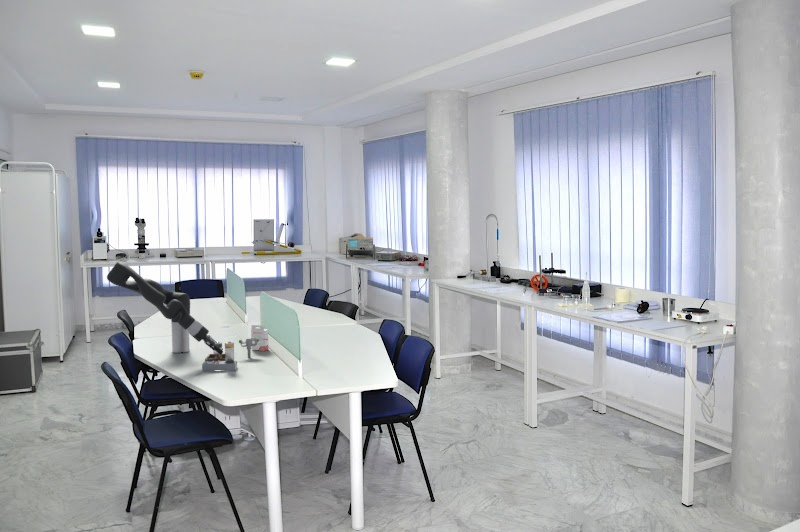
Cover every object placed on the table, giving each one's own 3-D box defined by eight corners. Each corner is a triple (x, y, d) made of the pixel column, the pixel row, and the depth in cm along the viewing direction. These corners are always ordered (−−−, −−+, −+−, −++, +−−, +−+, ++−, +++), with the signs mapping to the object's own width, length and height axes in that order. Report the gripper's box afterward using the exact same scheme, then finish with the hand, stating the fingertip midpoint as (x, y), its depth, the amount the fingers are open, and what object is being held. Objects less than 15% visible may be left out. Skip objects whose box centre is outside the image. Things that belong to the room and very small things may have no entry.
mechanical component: (239, 357, 346) (238, 339, 345) (258, 355, 350) (258, 337, 349) (239, 358, 343) (239, 340, 342) (259, 357, 347) (258, 339, 346)
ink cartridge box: (268, 349, 365) (268, 324, 364) (265, 351, 360) (264, 325, 359) (255, 348, 367) (254, 323, 366) (251, 350, 362) (250, 325, 361)
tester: (204, 368, 323) (204, 360, 323) (236, 367, 325) (236, 359, 325) (202, 371, 317) (202, 363, 317) (235, 370, 319) (235, 362, 319)
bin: (209, 360, 339) (209, 354, 339) (231, 359, 340) (231, 353, 340) (205, 365, 328) (204, 359, 328) (227, 365, 329) (227, 358, 329)
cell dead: (214, 360, 336) (213, 341, 335) (223, 360, 337) (222, 340, 336) (212, 362, 332) (212, 342, 331) (221, 362, 332) (221, 342, 331)
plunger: (207, 368, 322) (207, 358, 322) (215, 368, 323) (214, 357, 322) (206, 370, 318) (205, 359, 318) (213, 370, 319) (213, 359, 318)
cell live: (225, 361, 323) (225, 340, 322) (235, 361, 324) (234, 340, 323) (224, 363, 319) (224, 342, 318) (233, 363, 319) (233, 342, 318)
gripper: (192, 333, 336) (216, 354, 340) (191, 338, 322) (216, 360, 327) (202, 322, 337) (226, 343, 341) (202, 327, 323) (227, 349, 328)
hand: (221, 351), depth 334 cm, fingers open, 5 cm apart
